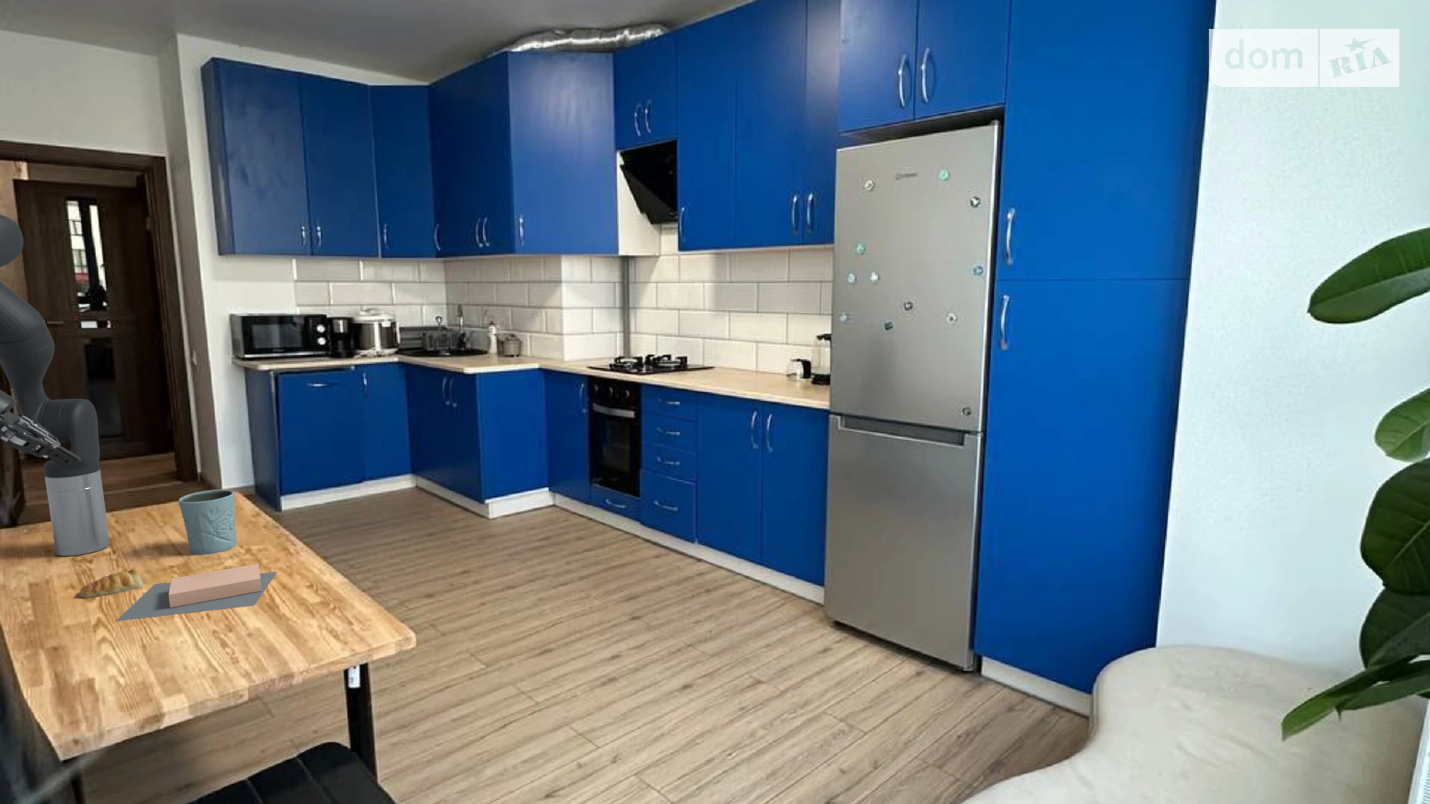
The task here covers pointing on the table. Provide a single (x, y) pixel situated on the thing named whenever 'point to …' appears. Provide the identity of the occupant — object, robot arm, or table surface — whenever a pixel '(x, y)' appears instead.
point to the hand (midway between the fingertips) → (76, 464)
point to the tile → (214, 585)
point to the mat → (159, 605)
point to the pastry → (113, 584)
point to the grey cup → (209, 520)
